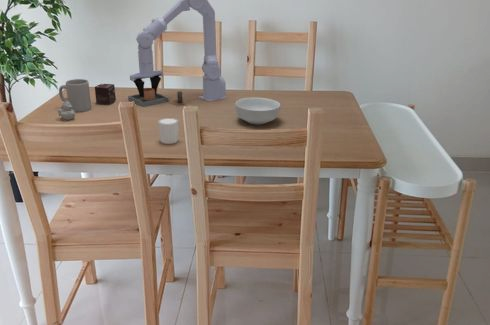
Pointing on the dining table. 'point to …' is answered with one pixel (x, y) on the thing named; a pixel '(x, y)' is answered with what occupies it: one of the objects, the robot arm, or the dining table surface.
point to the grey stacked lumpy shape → (66, 111)
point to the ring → (148, 94)
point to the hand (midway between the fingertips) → (148, 95)
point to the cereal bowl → (257, 110)
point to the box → (105, 94)
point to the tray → (144, 103)
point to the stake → (180, 100)
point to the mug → (77, 94)
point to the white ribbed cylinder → (168, 130)
